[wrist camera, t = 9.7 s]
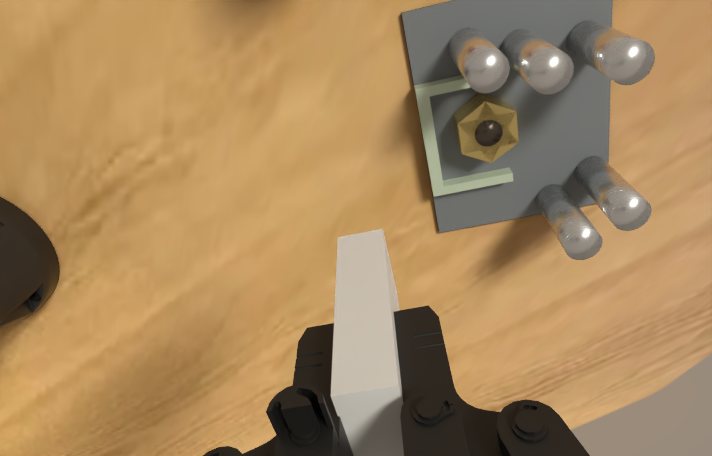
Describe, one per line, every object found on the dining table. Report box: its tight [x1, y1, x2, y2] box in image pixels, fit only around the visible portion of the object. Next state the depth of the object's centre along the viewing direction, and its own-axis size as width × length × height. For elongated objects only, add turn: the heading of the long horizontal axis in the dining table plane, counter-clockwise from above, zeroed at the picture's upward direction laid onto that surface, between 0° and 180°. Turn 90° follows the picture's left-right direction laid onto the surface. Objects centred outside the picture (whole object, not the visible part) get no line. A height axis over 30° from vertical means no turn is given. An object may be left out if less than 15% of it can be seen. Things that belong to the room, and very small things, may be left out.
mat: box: [402, 0, 612, 233], centre depth 43 cm, size 16×20×1 cm
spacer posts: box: [448, 20, 655, 260], centre depth 39 cm, size 12×18×8 cm
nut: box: [453, 93, 519, 163], centre depth 42 cm, size 5×5×3 cm
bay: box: [414, 75, 513, 197], centre depth 43 cm, size 7×10×1 cm
